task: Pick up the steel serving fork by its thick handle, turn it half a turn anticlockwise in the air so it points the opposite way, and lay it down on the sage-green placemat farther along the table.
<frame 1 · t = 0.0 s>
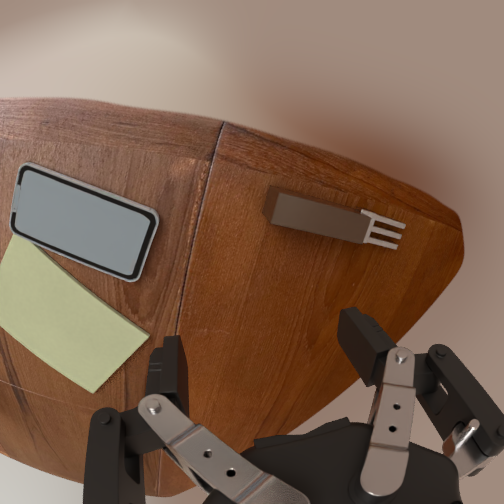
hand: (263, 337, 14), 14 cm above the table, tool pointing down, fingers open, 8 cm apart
fork: (338, 217, 27), on the table
smartphone: (77, 219, 23), on the table, touching placemat
placemat: (55, 322, 26), on the table
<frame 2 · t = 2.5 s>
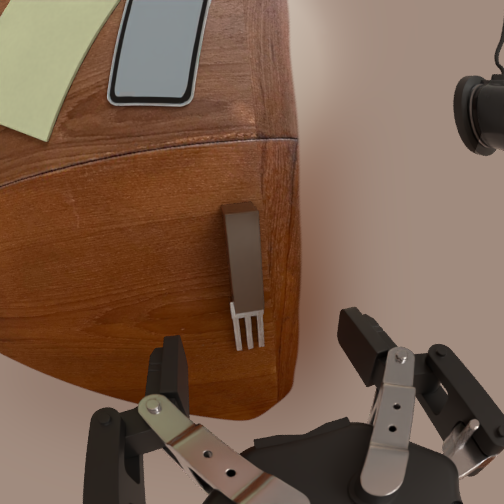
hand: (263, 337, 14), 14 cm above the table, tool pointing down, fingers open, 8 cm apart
fork: (243, 280, 28), on the table
smartphone: (162, 27, 18), on the table
placemat: (36, 35, 15), on the table
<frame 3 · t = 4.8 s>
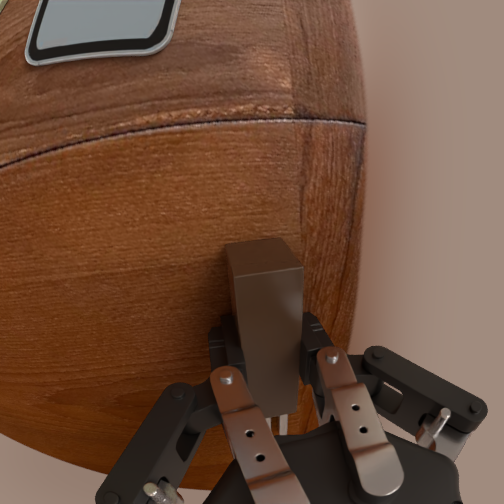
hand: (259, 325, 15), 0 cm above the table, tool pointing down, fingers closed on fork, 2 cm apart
fork: (260, 360, 16), on the table, touching gripper
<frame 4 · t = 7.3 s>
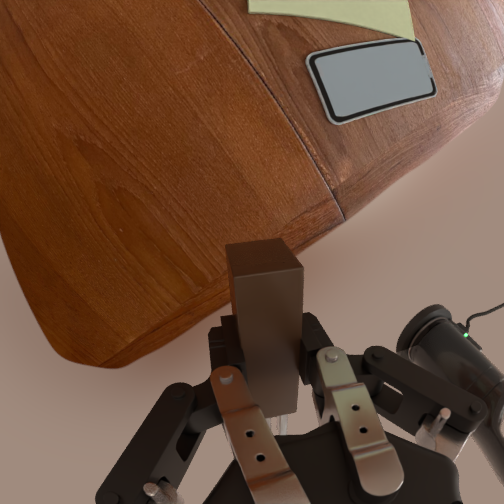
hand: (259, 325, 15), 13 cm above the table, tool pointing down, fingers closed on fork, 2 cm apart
fork: (260, 361, 16), point 13 cm above the table, touching gripper
smartphone: (376, 75, 23), on the table
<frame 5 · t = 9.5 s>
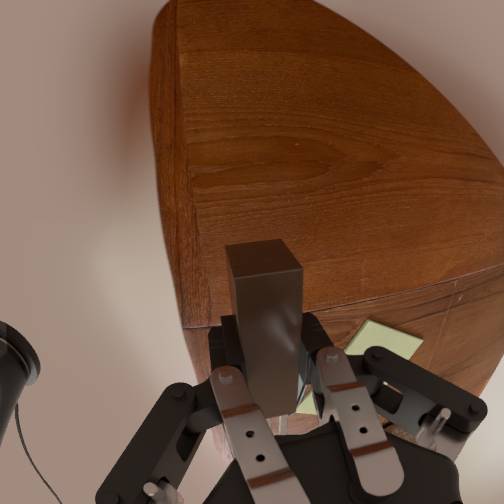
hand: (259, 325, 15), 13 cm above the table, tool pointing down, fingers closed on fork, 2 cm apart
fork: (260, 361, 16), point 13 cm above the table, touching gripper
planter: (383, 434, 51), on the table
placemat: (360, 376, 38), on the table
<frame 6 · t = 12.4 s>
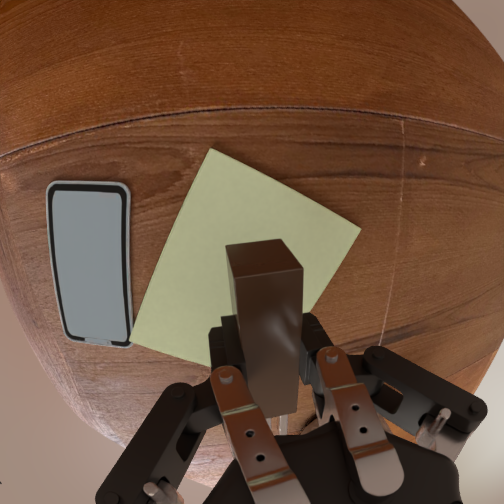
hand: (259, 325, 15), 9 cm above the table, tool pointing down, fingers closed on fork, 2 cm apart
fork: (260, 361, 16), point 9 cm above the table, touching gripper
smartphone: (91, 268, 22), on the table
placemat: (239, 286, 24), on the table
when the fingers open (1 cm above the table, at t = 14.5 s): fork stays where it is, resting on placemat.
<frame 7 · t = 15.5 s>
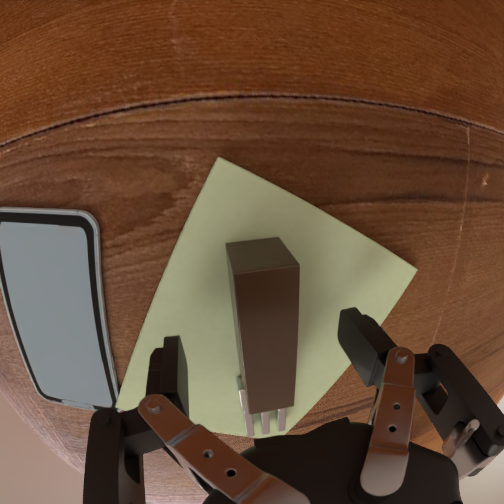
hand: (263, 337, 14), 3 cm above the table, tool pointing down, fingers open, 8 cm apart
fork: (259, 356, 17), resting on placemat
smartphone: (59, 323, 15), on the table
placemat: (258, 349, 17), on the table
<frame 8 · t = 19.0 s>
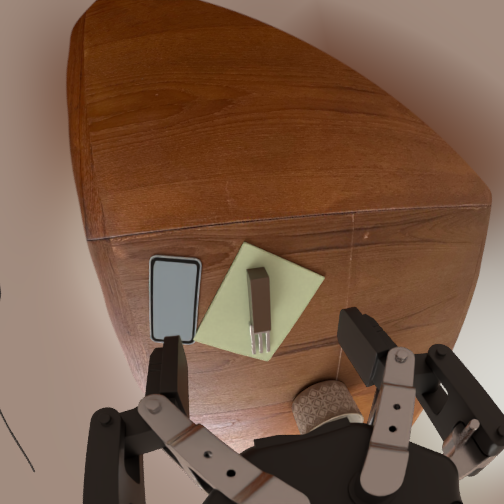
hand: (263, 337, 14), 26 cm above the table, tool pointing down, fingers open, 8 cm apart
fork: (257, 311, 44), resting on placemat
planter: (317, 395, 57), on the table
smartphone: (173, 301, 42), on the table
placemat: (257, 309, 45), on the table
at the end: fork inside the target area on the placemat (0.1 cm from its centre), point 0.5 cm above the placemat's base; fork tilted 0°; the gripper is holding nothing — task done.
